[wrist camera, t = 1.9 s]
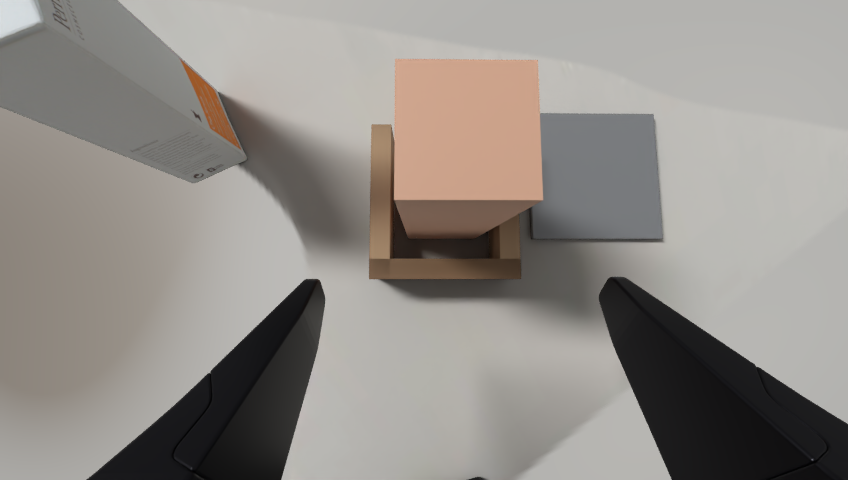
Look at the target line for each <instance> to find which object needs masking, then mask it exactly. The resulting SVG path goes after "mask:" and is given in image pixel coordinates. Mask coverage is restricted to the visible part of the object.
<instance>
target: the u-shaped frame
mask: <svg viewBox="0 0 848 480" xmlns="http://www.w3.org/2000/svg"><path fill="white" fill-rule="evenodd" d="M394 146H395V142H394V137H393V132H392V127H391V125H372V132H371V194H370V255H369V279H521V260H520V228H519V214H518V215H516V216H514V217H512V218H510V219H509V220H507V221H505V222H503V223H501V224H500V225H498V226H496V227H494V228H493V229H491V230H489V231H488V232H489V259H394Z"/></svg>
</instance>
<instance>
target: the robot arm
mask: <svg viewBox="0 0 848 480" xmlns="http://www.w3.org/2000/svg"><path fill="white" fill-rule="evenodd" d="M599 302H600V305H601V308H602V311H603V315H604V318H605V321H606V324H607V327H608V331H609V334H610V337H611V340H612V343H613V346H614V348H615V351H616V353H617V355H618V358H619V360H620V362H621V364H622V367H623V369H624V371H625V374H626V376H627V378H628V380H629V383H630V385H631V387H632V390H633V392H634V394H635V396H636V399H637V401H638V403H639V406H640V408H641V410H642V412H643V415H644V417H645V419H646V422H647V424H648V425H649V428H650V431H651V433H652V435H653V438H654V440H655V442H656V444H657V447H658V449H659V451H660V454H661V456H662V458H663V460H664V463H665V465H666V467H667V469H668V472H669V474H670V476H671V479H672V480H848V424H847V423H845V422H844V421H842V420H840V419H839V418H837V417H835V416H834V415H832V414H830V413H829V412H827V411H826V410H824V409H822V408H821V407H819V406H818V405H816V404H814V403H813V402H811V401H810V400H808V399H806V398H805V397H803V396H801V395H800V394H798V393H797V392H795V391H794V390H792V389H791V388H789V387H788V386H786V385H785V384H783V383H782V382H780V381H778V380H777V379H776V378H774V377H773V376H771V375H770V374H768V373H766V372H765V371H764V370H762V369H761V368H759V367H756V366H755V364H753V363H752V362H750V361H749V360H747V359H746V358H744V357H742V356H741V355H740V354H738V353H737V352H735V351H733V350H732V349H730V348H729V347H728V346H726V345H725V344H723V343H722V342H720V341H719V340H717V339H716V338H714V337H713V336H711V335H710V334H709V333H707V332H706V331H704V330H703V329H701V328H700V327H698V326H697V325H695V324H694V323H692V322H691V321H689V320H688V319H686V318H685V317H683V316H682V315H680V314H679V313H677V312H676V311H674V310H673V309H671V308H670V307H668V306H667V305H665V304H664V303H662V302H661V301H659V300H658V299H656V298H655V297H653V296H652V295H650V294H649V293H648V292H646V291H645V290H643V289H642V288H640V287H639V286H637V285H636V284H634V283H633V282H631V281H630V280H628V279H627V278H625V277H610V278H609V279H608V280H607V281H606V283H605V285H604V287H603V288H602V290H601V292H600V294H599ZM324 307H325V295H324V292H323V289H322V285H321V282H320V280H318V279H306V280H304V281H303V282H302V283H301V284H300V285H299V286H298V287H297V288H296V289H295V290H294V291H293V292H291V293H290V295H288V296H287V297H286V298H285V299H284V300H283V301H282V302H281V303H280V304H279V305H278V306H277V307H276V308H275V309H274V310H273V311H272V312H271V313H270V314H269V315H268V316H267V317H266V318H265V319H264V320H263V321H262V322H261V323H260V324H259V325H257V327H255V328H254V329H253V330H252V331H251V332H250V333H249V334H248V335H247V336H246V337H245V338H244V339H243V340H242V341H241V342H240V343H239V344H238V345H237V346H236V347H235V348H234V349H233V350H232V351H231V352H230V353H229V354H228V355H227V356H226V357H225V358H224V359H222V361H221V362H219V363H218V364H217V365H216V366H215V367H214V368H213V369H212V370H211V373H208V374H207V375H206V376H205V377H204V378H203V379H202V380H201V381H200V382H199V383H198V384H197V385H196V386H194V388H192V389H191V390H190V391H189V392H188V393H187V394H186V395H185V396H184V397H183V398H182V399H181V400H180V401H178V402H177V403H176V404H175V405H174V406H173V407H172V408H171V409H170V410H168V411H167V412H166V413H165V414H164V415H163V416H161V417H160V418H159V419H158V420H157V421H156V422H155V423H153V424H152V425H151V426H150V427H149V428H148V429H146V430H145V431H144V432H143V433H142V434H141V435H139V436H138V437H137V438H136V439H135V440H133V441H132V442H131V443H130V444H129V445H127V447H125V448H124V449H123V450H122V451H120V452H119V453H118V454H117V455H116V456H114V457H113V458H112V459H111V460H110V461H109V462H107V463H106V464H105V465H104V466H103V467H102V468H100V469H99V470H98V471H97V472H96V473H94V474H93V475H92V476H91V477H89V478H88V479H87V480H281V478H282V475H283V471H284V467H285V464H286V460H287V457H288V453H289V450H290V446H291V443H292V439H293V435H294V432H295V428H296V425H297V421H298V418H299V414H300V411H301V407H302V404H303V400H304V396H305V393H306V389H307V386H308V382H309V379H310V375H311V372H312V368H313V364H314V361H315V357H316V353H317V349H318V344H319V338H320V332H321V326H322V320H323V313H324ZM468 480H483V479H482V478H480V477H476V478H472V479H468Z"/></svg>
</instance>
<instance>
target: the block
mask: <svg viewBox="0 0 848 480" xmlns="http://www.w3.org/2000/svg"><path fill="white" fill-rule="evenodd" d="M394 201H395V204H396V206H397V209H398V212H399V214H400V217H401V220H402V223H403V225H404V228H405V231H406V233H407V236H408V239H475V238H476V237H478V236H480V235H482V234H484V233H485V232H487V231H489V230H491V229H493V228H494V227H496V226H498V225H500V224H501V223H503V222H505V221H507V220H509V219H510V218H512V217H514V216H516V215H518V214H519V213H521V212H523V211H525V210H527V209H528V208H530V207H532V206H534V205H535V204H537V203H539V202H541V201H543V183H542V157H541V131H540V105H539V79H538V60H451V59H395V146H394Z"/></svg>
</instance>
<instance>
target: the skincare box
mask: <svg viewBox="0 0 848 480" xmlns="http://www.w3.org/2000/svg"><path fill="white" fill-rule="evenodd" d="M0 107H2V108H4V109H7V110H9V111H12V112H14V113H17V114H19V115H22V116H24V117H27V118H29V119H32V120H34V121H37V122H39V123H42V124H45V125H47V126H50V127H53V128H55V129H57V130H60V131H63V132H65V133H67V134H70V135H73V136H75V137H77V138H80V139H83V140H85V141H88V142H90V143H93V144H95V145H98V146H100V147H103V148H105V149H108V150H110V151H113V152H115V153H118V154H121V155H123V156H125V157H128V158H131V159H133V160H136V161H138V162H141V163H143V164H146V165H148V166H151V167H153V168H156V169H158V170H160V171H163V172H166V173H168V174H171V175H173V176H176V177H178V178H181V179H184V180H186V181H188V182H191V183H196V182H199V181H201V180H203V179H205V178H208V177H210V176H212V175H214V174H216V173H219V172H221V171H223V170H225V169H227V168H229V167H232V166H234V165H236V164H239V163H241V162H243V161H245V160H247V157H246V154H245V153H244V151H243V149H242V147H241V144H240V142H239V140H238V138H237V136H236V133H235V131H234V129H233V127H232V125H231V123H230V120H229V118H228V116H227V113H226V111H225V108H224V106H223V104H222V101H221V99H220V97H219V94H218V92H217V90H216V89H215V88H214V87H213V86H212V85H210V84H209V83H208V82H207V81H206V80H205V79H204V78H203V77H202V76H201V75H199V74H198V73H197V72H196V71H195V70H194V69H193V68H192V67H191V66H190V65H188V64H187V63H186V62H185V61H184V60H183V59H182V58H181V57H180V56H178V55H177V54H176V53H175V52H174V51H173V50H172V49H171V48H169V47H168V46H167V45H166V44H165V43H164V42H163V41H162V40H161V39H160V38H159V37H157V36H156V35H155V34H154V33H153V32H152V31H151V30H150V29H149V28H147V27H146V26H145V25H144V24H143V23H142V22H141V21H140V20H139V19H137V18H136V17H135V16H134V15H133V14H132V13H131V12H130V11H128V10H127V9H126V8H125V7H124V6H123V5H122V4H121V3H120V2H118V1H117V0H0Z"/></svg>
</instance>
